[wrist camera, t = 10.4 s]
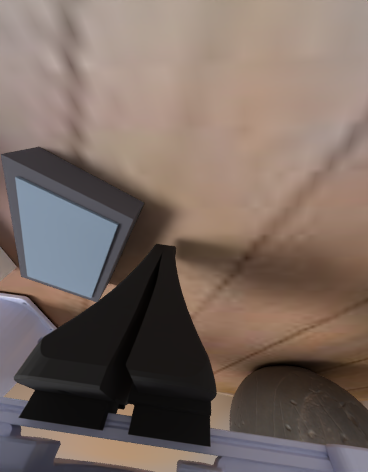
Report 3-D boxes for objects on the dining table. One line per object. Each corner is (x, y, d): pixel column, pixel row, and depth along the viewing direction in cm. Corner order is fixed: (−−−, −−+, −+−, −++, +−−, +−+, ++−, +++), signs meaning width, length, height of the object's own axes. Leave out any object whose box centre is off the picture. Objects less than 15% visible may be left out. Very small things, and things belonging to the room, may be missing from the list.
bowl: (381, 368, 22) (536, 586, 12) (287, 389, 32) (325, 511, 22) (269, 339, 19) (341, 579, 9) (207, 371, 30) (209, 499, 20)
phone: (110, 279, 16) (96, 304, 14) (45, 255, 14) (19, 278, 12) (146, 199, 10) (132, 220, 8) (45, 145, 9) (-3, 154, 7)
